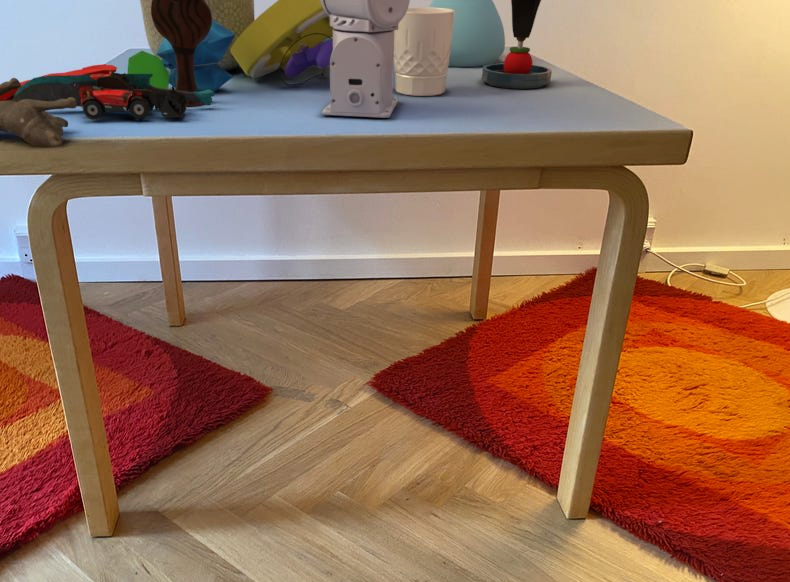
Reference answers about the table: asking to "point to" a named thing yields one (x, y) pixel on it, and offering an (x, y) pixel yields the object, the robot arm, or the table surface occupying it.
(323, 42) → the game controller
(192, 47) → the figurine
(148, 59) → the gemstone
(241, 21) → the planter
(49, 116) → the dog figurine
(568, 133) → the table surface
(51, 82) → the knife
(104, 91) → the loader
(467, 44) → the sugar bowl
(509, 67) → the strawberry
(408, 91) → the white cup
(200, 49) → the crystal
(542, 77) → the dish
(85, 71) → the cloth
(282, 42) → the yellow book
